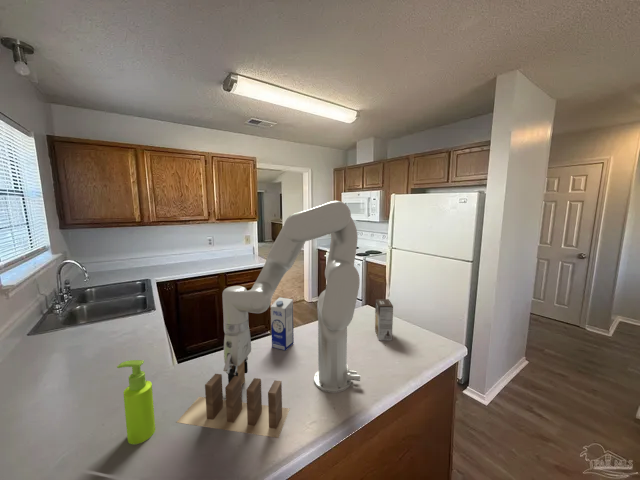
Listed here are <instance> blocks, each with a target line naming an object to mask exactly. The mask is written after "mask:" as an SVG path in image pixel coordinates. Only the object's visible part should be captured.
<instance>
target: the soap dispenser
mask: <svg viewBox="0 0 640 480" xmlns="http://www.w3.org/2000/svg"><path fill="white" fill-rule="evenodd" d="M144 363H145V360H143V359H142V360H141V359H134V360H133V359H132V360H131V359H130V360H126V361H123V362H121V363H120V364H118V365H117V366H116V368H117V369H120V368H131V371H132V373H131V374H129V376H128V384H129V385H128V386H127V387H125V389H124V390H123V401H124V402H123V403H124V413H125V415H124V416H125V425H126V427H125V428H126V435H127V438H126V439H127V443H129V444H130V445H138V444H142V443H143V442H146V441H147V440H149V439H151V437H152V436H153V435H154V434H155V432H156V421H155V408H154V407H155V406H154V395H153V394H154V393H153V384H152V383H153V382H151V381H150V380H146V373H145V370H141V367H142V365H143V364H144Z"/></svg>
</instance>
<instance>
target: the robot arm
mask: <svg viewBox="0 0 640 480" xmlns="http://www.w3.org/2000/svg"><path fill="white" fill-rule="evenodd" d="M327 235H330V244H329V253H328V256H327V257H328V258H327V260H326V266H325V270H324V277H325V280H326V284H325V285H326V286H325V289H324V290H323V291H321V293H320V294H319V296H318V298H317V305H316V306H317V323H318V325H317V327H318V329H317V335H318V338H317V342H318V344H317V345H318V347H317V348H318V349H317V350H318V351H317V352H318V355H317V357H318V362H317V363H318V366H317V367H318V370H317V371H316V372H315V374H314V376H313V383H314V385H315V387H317V389H319V390H321V391H323V392H326V393H331V394H332V393H334V394H335V393H341V392H344V391H346V390H347V389H348V388H350V386H351V384H352V381H355V382H361V374H357V373H358V370H353V369H352V370H351V369H350V368H349V365H348V363H347V362H348V361H347V360H348V357H347V356H348V343H347V342H348V327H349V325H350V324H351V322H352V320H353V318H354V314H355V310H356V305H357V299H358V296H359V295H358V294H359V291H360V290H359V289H360V282H361V281H360V274H359V271H358V269H357V268H356V267H355V261H356V254H357V247H358V239H359V238H358V229H357V226H356V224H355V222H354V219H353V218H352V214H351V210H350V208H349V206H348V205H347V204H346V203H344V202H342V201H340V200H333V201H329V202H326V203H324V204H322V205H321V204H320V205H317V206H315V207H312V208H309V209H307V210H302V211H298V212H295V213H292V214H291V215H289V216H288V217H287V218H286V219H285V221H284V223H283V226H282V228H281V230H280V231H279V233H278V235H277V237H276V239H275V240H274V243H273V244H272V246H271V248H270V250H269V251H268V254H267V256H266V260H265V263H264V266H262V268H261V270H260V273H259V275H258V277H257V279H256V280H255V281H254V283H253V285H252V287H251V289H249V290H247V287H245V286H241V285H233V286H228V287H226V288H224V290H223V291H222V294H221V295H222V296H221V297H222V313H223V314H222V315H223V332H224V339H223V362H224V366H223V369H222V370H223V372H224V373H226V374H227V378H228V380H227V382H228V383H229V382H230V381H231V380H232V378H233V377H234V376H238V373H237V367H238V366H239V365H240V364H241V363H242V362H243V361H244V366H245V374H247V373H248V372H249V371H248V370H249V369H248V359H249V355H250V354H251V352H252V341H251V331H250V330H251V329H250V327H249V313H252V314H262V313H264V312H266V311H267V310H268V309H269V308H270V307H271V304H272V303H271V302H272V299H273V296H274V294H275V292H276V289H277V288H278V286H279V284H280V283H281V281H282V279H283V277H284V276H285V274H286V273H287V272H288V271H289V270H291V268H292V267H293V265H294V264H295V262H296V260H297V258H298V256H299V254H300V252H301V251H302V249H303V247H304V245H305V243H306V242H309V241H312V240H315V239H318V238H322V237H324V236H327ZM231 361H232V362H233V363H231ZM231 366H234V370H233V369H231ZM228 383H227V384H228Z"/></svg>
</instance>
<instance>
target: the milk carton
mask: <svg viewBox="0 0 640 480" xmlns="http://www.w3.org/2000/svg"><path fill="white" fill-rule="evenodd" d="M270 318H271V319H270V323H271V324H270V325H271V348H273V349H277V350H282V351H284V352H285V351H287V350H288V349H290V348H291V346H293V345H294V344H293V343H295V342H294V334H295V333H294V299H292V298H287V297H281V296H279V297H278V298H277V299H276V300H275V301H274V302H273V303H271V304H270Z"/></svg>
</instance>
